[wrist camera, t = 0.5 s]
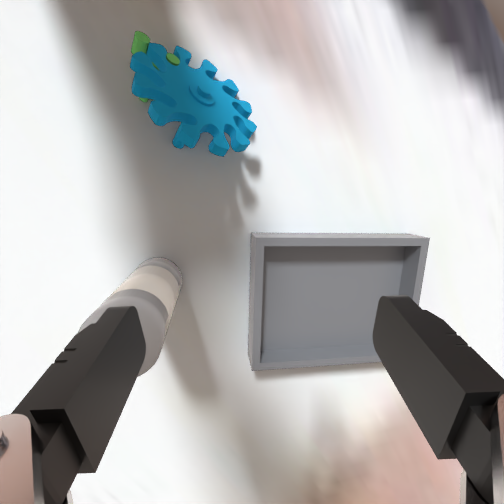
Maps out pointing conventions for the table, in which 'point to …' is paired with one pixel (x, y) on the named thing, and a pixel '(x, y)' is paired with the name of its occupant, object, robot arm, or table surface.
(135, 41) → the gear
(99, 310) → the fuse
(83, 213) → the table surface
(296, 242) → the parts tray
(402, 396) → the robot arm
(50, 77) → the table surface
